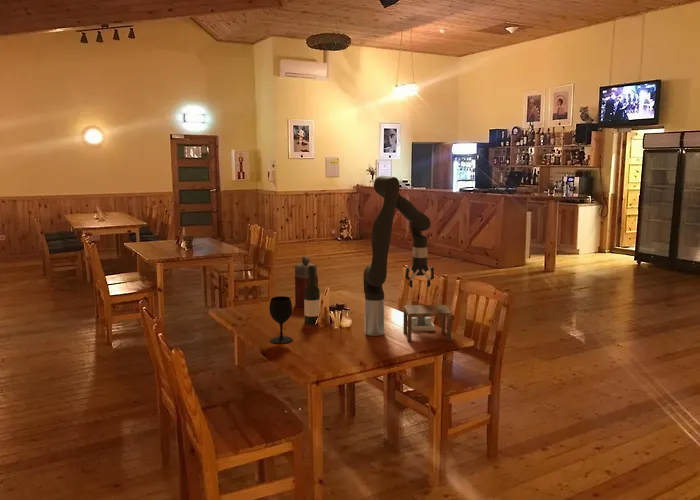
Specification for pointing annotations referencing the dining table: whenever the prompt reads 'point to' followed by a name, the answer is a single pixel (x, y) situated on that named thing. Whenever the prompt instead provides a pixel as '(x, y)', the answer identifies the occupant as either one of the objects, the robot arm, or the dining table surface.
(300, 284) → the pepper mill
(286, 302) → the wine glass
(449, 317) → the counter shelf
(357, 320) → the dining table surface
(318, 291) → the wine bottle
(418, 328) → the tray
